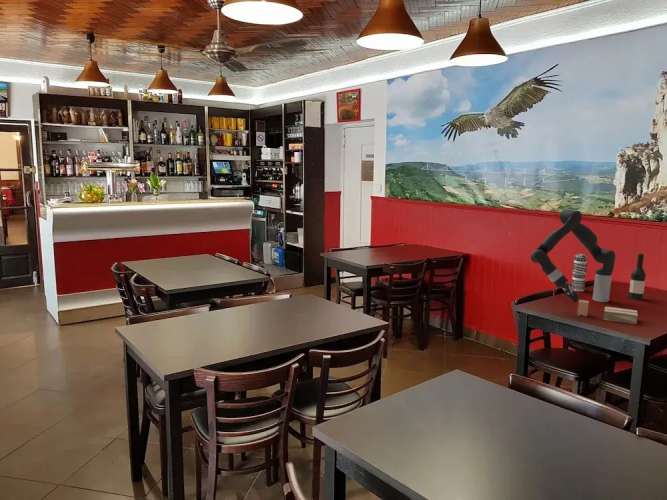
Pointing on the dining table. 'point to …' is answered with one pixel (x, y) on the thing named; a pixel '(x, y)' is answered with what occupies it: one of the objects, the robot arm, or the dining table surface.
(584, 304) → the terracotta block
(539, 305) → the dining table surface
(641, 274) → the wine bottle
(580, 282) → the leaning tower model
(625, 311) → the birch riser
